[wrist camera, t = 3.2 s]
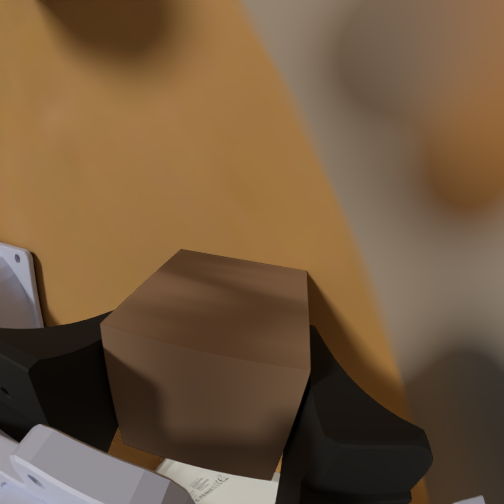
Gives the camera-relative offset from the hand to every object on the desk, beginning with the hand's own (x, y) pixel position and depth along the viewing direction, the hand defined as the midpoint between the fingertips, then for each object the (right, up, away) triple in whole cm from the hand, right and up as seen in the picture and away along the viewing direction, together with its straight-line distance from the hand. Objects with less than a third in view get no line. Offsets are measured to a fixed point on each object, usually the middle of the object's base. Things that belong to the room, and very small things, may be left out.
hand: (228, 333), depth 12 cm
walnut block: (0, 0, +1) cm, 1 cm away
